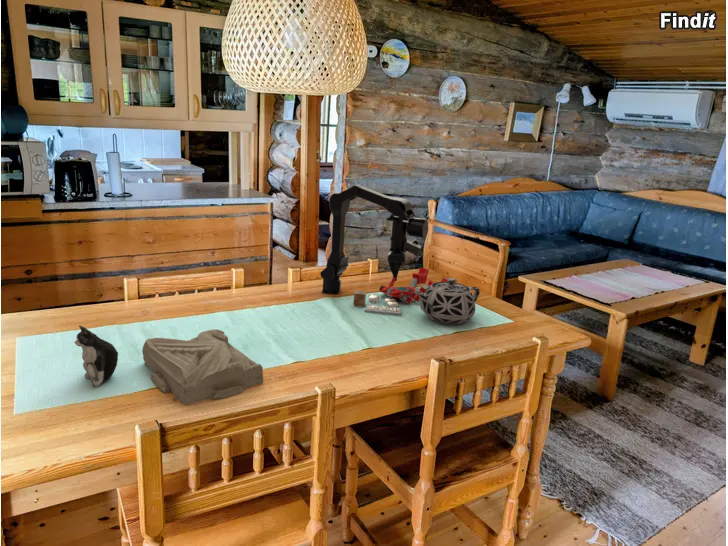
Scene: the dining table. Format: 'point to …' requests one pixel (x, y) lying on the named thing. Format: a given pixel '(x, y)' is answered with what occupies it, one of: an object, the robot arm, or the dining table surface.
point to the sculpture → (200, 367)
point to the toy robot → (410, 287)
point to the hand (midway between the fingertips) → (395, 274)
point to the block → (359, 298)
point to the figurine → (96, 356)
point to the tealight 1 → (374, 298)
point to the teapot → (449, 302)
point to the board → (383, 309)
